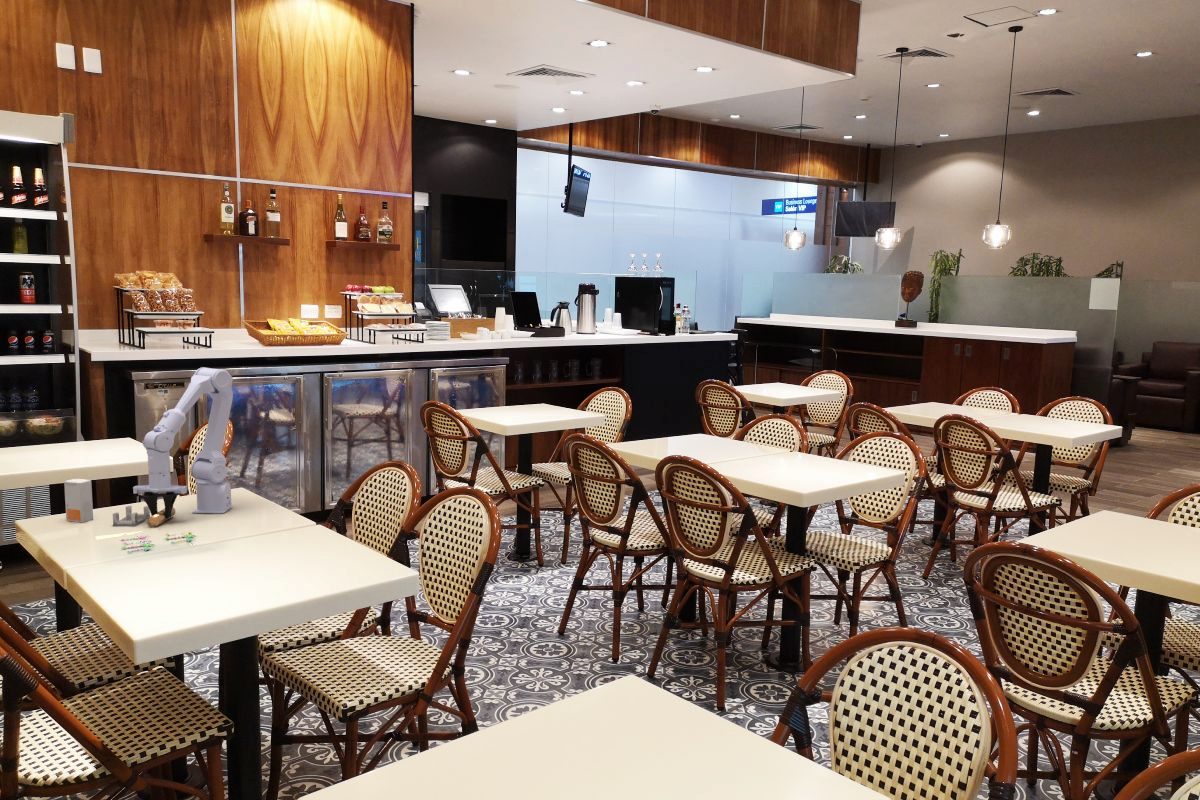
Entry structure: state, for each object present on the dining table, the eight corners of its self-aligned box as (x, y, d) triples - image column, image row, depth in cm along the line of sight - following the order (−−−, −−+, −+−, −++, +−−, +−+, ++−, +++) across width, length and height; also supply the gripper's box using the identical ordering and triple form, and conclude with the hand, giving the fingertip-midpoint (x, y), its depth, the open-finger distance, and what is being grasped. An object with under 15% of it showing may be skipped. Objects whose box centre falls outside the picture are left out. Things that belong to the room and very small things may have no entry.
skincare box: (65, 521, 263) (63, 481, 261) (77, 517, 267) (75, 478, 265) (82, 523, 261) (79, 482, 260) (94, 519, 265) (92, 479, 264)
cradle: (150, 517, 269) (149, 505, 268) (135, 526, 259) (134, 514, 258) (128, 517, 268) (128, 505, 268) (113, 526, 258) (112, 514, 258)
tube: (164, 516, 270) (164, 506, 269) (175, 516, 270) (175, 506, 270) (147, 527, 258) (146, 516, 258) (158, 527, 258) (158, 516, 258)
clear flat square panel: (212, 524, 264) (211, 519, 264) (232, 552, 239) (232, 547, 239) (95, 537, 248) (95, 532, 248) (104, 569, 223) (103, 564, 223)
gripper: (127, 474, 258) (129, 520, 259) (179, 474, 259) (181, 520, 260) (138, 469, 265) (140, 514, 266) (189, 469, 266) (190, 514, 267)
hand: (161, 517), depth 264 cm, fingers closed on tube, 3 cm apart
